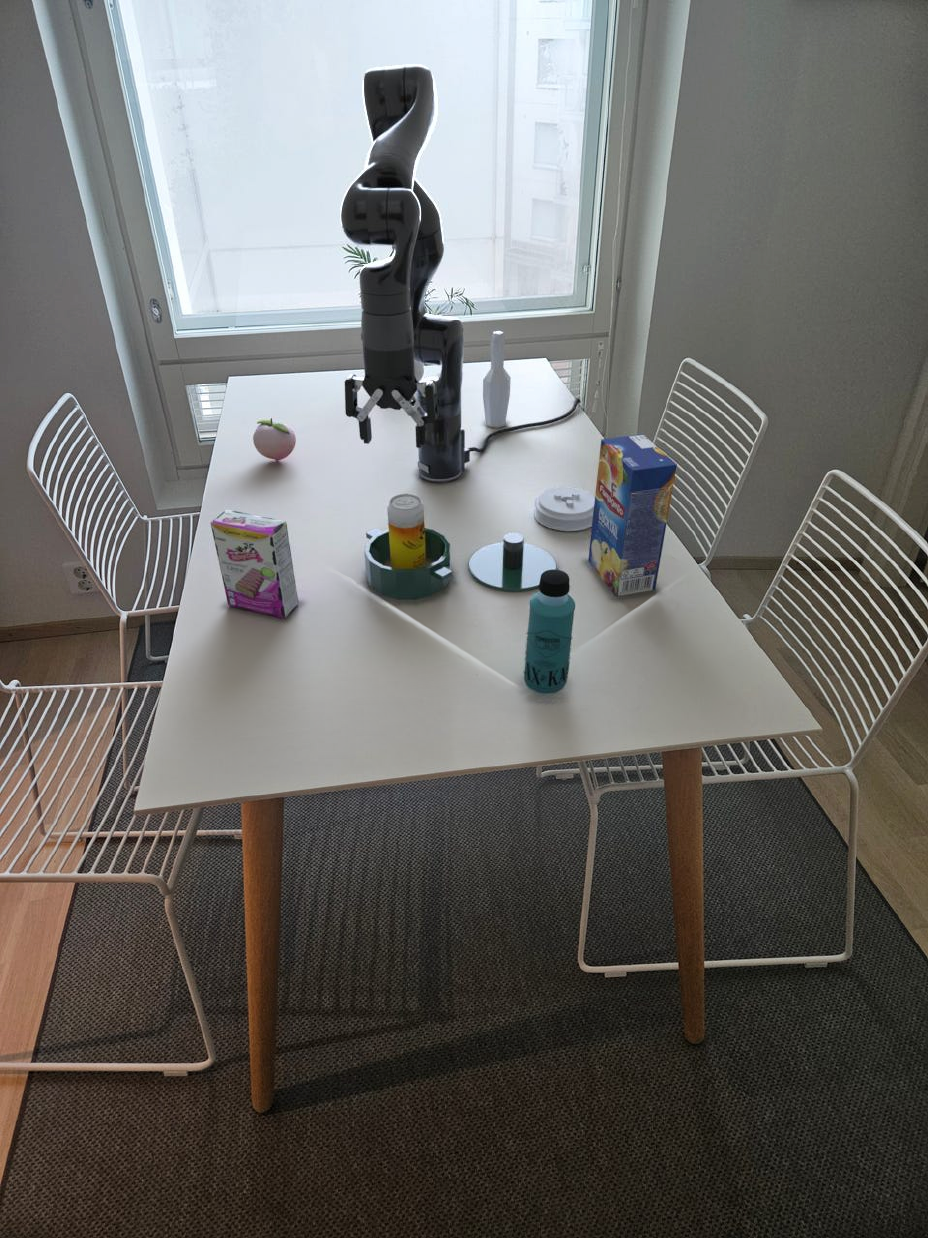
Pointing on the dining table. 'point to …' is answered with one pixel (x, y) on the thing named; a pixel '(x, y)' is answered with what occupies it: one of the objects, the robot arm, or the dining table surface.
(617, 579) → the juice carton
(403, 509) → the beer can
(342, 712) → the dining table surface
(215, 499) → the dining table surface
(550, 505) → the lid
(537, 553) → the pot lid
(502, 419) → the low poly bottle
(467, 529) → the dining table surface
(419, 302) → the robot arm
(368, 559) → the pot
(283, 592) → the candy bar box
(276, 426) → the decorative fruit
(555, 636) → the beverage bottle
